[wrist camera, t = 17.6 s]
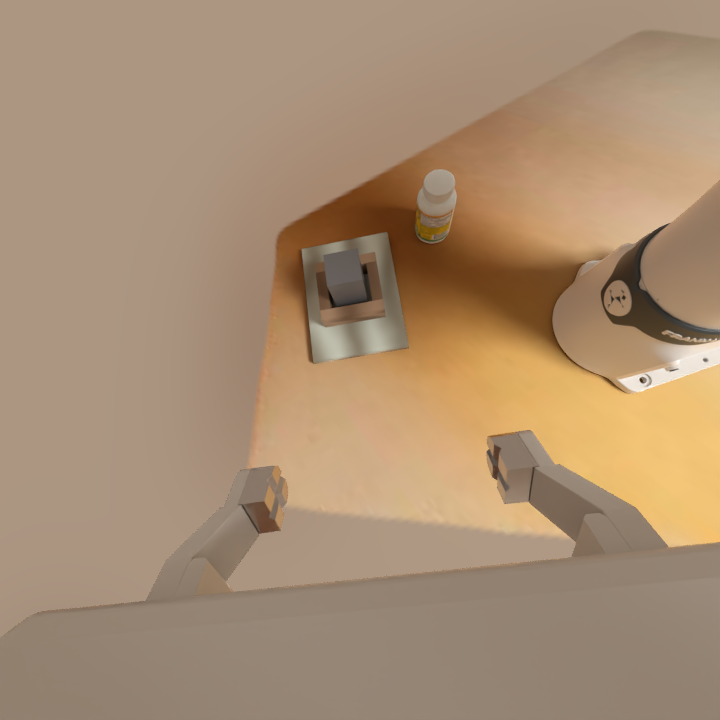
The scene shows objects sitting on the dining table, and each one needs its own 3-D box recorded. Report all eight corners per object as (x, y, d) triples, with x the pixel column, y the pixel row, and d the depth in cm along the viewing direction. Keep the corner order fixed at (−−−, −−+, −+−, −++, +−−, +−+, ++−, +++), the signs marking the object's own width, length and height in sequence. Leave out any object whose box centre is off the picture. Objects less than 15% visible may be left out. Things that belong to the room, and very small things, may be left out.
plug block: (364, 278, 48) (357, 248, 40) (368, 305, 46) (362, 279, 39) (335, 283, 48) (323, 255, 40) (339, 310, 47) (327, 286, 39)
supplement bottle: (440, 249, 48) (449, 205, 39) (408, 237, 49) (410, 192, 40) (455, 221, 49) (467, 172, 40) (423, 210, 50) (429, 159, 41)
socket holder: (387, 235, 50) (386, 219, 46) (408, 348, 45) (409, 340, 41) (303, 252, 51) (295, 237, 47) (315, 363, 46) (307, 357, 43)
